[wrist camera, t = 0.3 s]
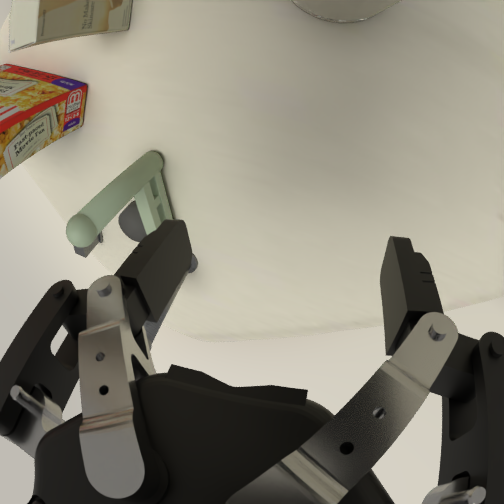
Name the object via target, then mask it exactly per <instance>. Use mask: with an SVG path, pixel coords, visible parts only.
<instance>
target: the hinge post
mask: <svg viewBox="0 0 504 504" xmlns="http://www.w3.org/2000/svg"><path fill="white" fill-rule="evenodd" d="M197 265H198V262H197V259H196V257H195V256H194V255H193V254H192V261H191V264H190V266H189V267H188V269H187V271H186V273H185V274H184V276H183V278H182V279H181V281H180V283H179V285H178V286H177V288H176V290H175V292H174V293H173V295H172V297H171V299H170V300H169V302H168V304H167V306H166V307H165V309H164V311H163V313H162V315H161V316H160V318H159V320H158V322H157V323H155V322H151V321H145V323H144V325H143V326H144V328H145V331H146V336H147V340H148V345H149V349H150V350H151V344H152V342H153V340H154V338H155V336H156V334H157V332H158V330H159V328H160V326H161V324H162V322H163V320H164V318H165V316H166V314H167V312H168V310H169V308H170V306H171V304H172V302H173V300H174V299H175V297H176V295H177V293H178V291H179V289H180V287H181V285H182V283H183V281H184V279H185V277H186V276H187V274H188V273H192V272H193V271H195V269H196V267H197Z"/></svg>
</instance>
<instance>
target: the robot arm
mask: <svg viewBox="0 0 504 504" xmlns="http://www.w3.org/2000/svg"><path fill="white" fill-rule="evenodd" d="M292 1H293V2H294V3H295V5H296V6H298V7H299V8H301V9H302V10H303V11H305V12H307V13H309V14H311V15H313V16H315V17H317V18H320V19H323V20H326V21H332V22H338V23H352V22H357V21H362V20H365V19H368V18H370V17H372V16H374V15H376V14H377V13H380V12H381V11H383V10H385V9H387V8H389V7H390V6H392V5H394V4H396V3H398V2H400V1H402V0H292ZM191 261H192V248H191V244H190V240H189V236H188V232H187V228H186V224H185V222H184V221H183V220H173V219H165V220H164V221H163V222H162V223H161V225H160V226H159V227H158V228H157V229H156V230H154V231H152V232H151V233H150V234H148V235H147V236H145V237H144V238H143V239H142V240H141V242H140V243H139V244H138V247H136V248H135V249H134V250H133V251H132V253H131V254H130V255H129V256H128V258H127V259H126V260H125V261H124V263H123V264H122V265H121V267H120V268H119V269H118V270H117V272H116V273H115V274H114V275H107V276H104V277H101V278H99V279H97V280H96V281H94V282H93V283H92V285H91V286H90V287H89V289H81V290H76V289H75V287H74V286H73V284H72V282H71V281H69V280H62V281H59V282H57V283H55V284H54V285H53V286H51V288H50V289H49V290H48V291H47V293H46V294H45V295H44V296H43V298H42V299H41V300H40V302H39V303H38V305H37V306H36V307H35V309H34V310H33V312H32V313H31V314H30V316H29V317H28V319H27V321H26V322H25V323H24V325H23V326H22V328H21V329H20V331H19V332H18V334H17V335H16V337H15V339H14V340H13V342H12V343H11V345H10V347H9V348H8V350H7V351H6V353H5V355H4V356H3V358H2V360H1V362H0V435H1V436H2V437H4V438H6V439H7V440H9V441H11V442H12V443H14V444H16V445H17V446H19V447H20V448H21V449H23V450H24V451H25V452H26V453H28V454H29V455H30V456H31V457H33V458H34V459H35V482H34V490H33V495H32V498H31V499H30V501H29V503H27V504H394V502H393V501H392V499H391V498H390V496H389V495H388V493H387V492H386V490H385V489H384V487H383V486H382V484H381V483H380V481H379V480H378V478H377V477H376V475H375V474H374V472H373V471H372V469H371V468H372V467H373V466H374V465H375V463H376V462H377V461H378V460H379V459H380V458H381V457H382V456H383V455H384V453H385V452H386V451H387V450H388V449H389V447H390V446H391V445H392V444H393V443H394V441H395V440H396V439H397V438H398V436H399V435H400V434H401V432H402V431H403V430H404V429H405V427H406V426H407V425H408V423H409V422H410V421H411V419H412V418H413V416H414V415H415V414H416V412H417V411H418V409H419V408H420V406H421V405H422V404H423V402H424V401H425V399H426V398H427V396H428V394H429V392H432V393H435V394H438V395H441V396H442V446H441V461H440V471H439V481H438V486H437V487H435V488H434V489H432V490H431V491H430V492H429V493H428V494H427V495H426V497H425V498H424V500H423V502H422V504H504V337H503V336H502V335H500V334H498V333H496V332H488V333H485V334H484V335H483V336H482V337H481V339H480V340H476V339H473V338H470V337H467V336H465V335H462V334H459V333H458V330H457V327H456V325H455V323H454V322H453V321H452V320H451V319H450V318H449V317H448V316H446V315H444V313H443V309H442V305H441V301H440V298H439V294H438V290H437V287H436V284H435V280H434V277H433V275H432V271H431V268H430V264H429V262H428V261H427V260H426V258H425V257H424V256H423V255H422V254H421V253H418V252H414V250H413V247H412V243H411V240H410V239H409V238H404V237H394V236H390V238H389V240H388V244H387V248H386V252H385V256H384V260H383V264H382V268H381V274H380V287H381V296H382V306H383V317H384V330H385V347H386V355H391V356H392V357H391V358H390V360H389V361H388V360H387V361H385V362H384V363H383V364H382V366H381V367H380V368H379V369H378V370H377V371H376V372H375V374H374V375H373V376H372V377H371V378H370V379H369V380H368V382H367V383H366V384H365V385H364V386H363V387H362V388H361V389H360V390H359V391H358V393H356V394H355V396H354V397H353V398H352V399H351V400H350V401H349V402H348V403H347V404H346V405H345V406H344V407H343V408H342V409H341V410H340V411H339V412H338V413H337V414H336V415H333V414H332V413H331V412H330V411H329V410H327V409H326V408H325V407H323V406H322V405H320V404H318V403H316V402H314V401H311V400H308V399H306V398H307V392H308V390H304V389H295V388H288V387H281V386H274V385H267V386H251V387H232V386H229V385H227V384H225V383H223V382H221V381H219V380H217V379H215V378H213V377H211V376H209V375H207V374H205V373H203V372H201V371H196V370H192V369H188V368H184V367H180V366H177V365H173V364H172V365H171V367H170V369H169V371H168V373H158V374H157V373H156V371H155V369H154V365H153V362H152V358H151V353H150V349H149V345H148V340H147V336H146V331H145V328H144V326H143V325H144V323H145V321H151V322H155V323H157V322H158V320H159V318H160V316H161V315H162V313H163V311H164V309H165V307H166V306H167V304H168V302H169V300H170V299H171V297H172V295H173V293H174V292H175V290H176V288H177V286H178V285H179V283H180V281H181V279H182V278H183V276H184V274H185V273H186V271H187V269H188V267H189V266H190V264H191ZM62 325H63V326H64V327H65V329H66V330H67V332H68V334H67V336H66V338H65V340H64V341H63V343H62V345H61V346H60V348H59V350H58V352H57V353H56V355H55V356H54V355H53V354H52V352H51V348H50V346H51V342H52V340H53V338H54V337H55V335H56V333H57V332H58V330H59V329H60V327H61V326H62ZM78 379H80V392H81V404H82V413H80V414H78V415H77V416H75V417H73V418H71V419H69V420H68V421H66V422H65V421H64V420H63V419H62V412H63V410H64V408H65V406H66V404H67V401H68V399H69V398H70V395H71V393H72V391H73V389H74V387H75V385H76V383H77V381H78Z"/></svg>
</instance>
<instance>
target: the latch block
mask: <svg viewBox="0 0 504 504" xmlns="http://www.w3.org/2000/svg"><path fill="white" fill-rule="evenodd" d="M99 242H101V243H102V242H103V237H102V231H101V232H100V233H99V234H98V235H97V237H96V239H95V240H94V242H93V243H92V244H91V245H89V246H87V247H83V248H80V247H76V246H74V245H73V246H74V250H75V253H77V254H79V255H81V256H83V257H85V258H86V257H87V256H88V254H89V253H90V252H91V251H92V250H93V249H94V247H95V246H96V245H97V244H98V243H99Z"/></svg>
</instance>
